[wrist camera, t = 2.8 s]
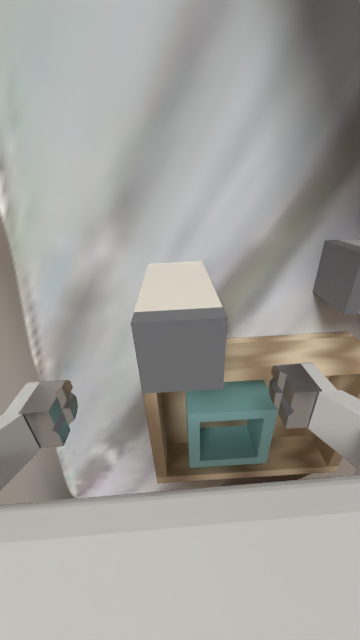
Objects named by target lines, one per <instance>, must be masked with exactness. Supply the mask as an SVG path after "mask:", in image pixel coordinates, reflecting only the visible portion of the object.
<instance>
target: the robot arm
mask: <svg viewBox="0 0 360 640" xmlns="http://www.w3.org/2000/svg"><path fill="white" fill-rule="evenodd" d="M271 374H272V376H273V378H272V379H271V380H270V381H269V395H270V398H271V401H272V403H273V405H274V406H276V407H277V408H279V412H278V415H279V417H280V419H281V420H282V422H283V424H284V426H285V428H306V427H308V429H309V430H310V431H312V432H313V433H314V434H315V435H317V436H318V437H319V438H320V439H321V440H323V441H324V442H325V443H326V444H328V445H329V446H330V447H331V448H332V449H334V450H335V451H336V452H337V453H339V454H340V455H341V456H342V457H343V458H345V459H346V460H347V461H348V462H350V463H351V464H352V465H353V466H354V467H356V468H357V469H356V471H355V473H354V475H352V476H339V477H327V478H315V479H303V480H291V481H279V482H267V483H255V484H243V485H232V486H220V487H208V488H196V489H184V490H172V491H160V492H148V493H136V494H124V495H112V496H100V497H88V498H76V499H65V500H52V501H40V502H29V503H17V504H5V505H0V640H360V399H358V398H356V397H354V396H352V395H350V394H348V393H346V392H344V391H342V390H337V389H336V388H335V387H334V386H333V385H332V383H331V382H330V381H329V380H328V379H327V378H326V377H325V375H324V374H323V373H322V372H321V371H320V370H319V369H318V368H317V366H316V365H315V364H314V363H312V362H304V363H296V364H283V365H273V367H272V370H271ZM72 388H73V387H72V385H71V382H70V381H68V380H57V381H42V382H29V383H27V384H26V385H25V386H24V388H23V389H22V390H21V391H20V393H19V394H18V395H17V397H16V398H15V399H14V401H13V402H12V403H11V405H10V406H9V408H8V409H7V410H6V412H5V413H4V415H3V416H0V490H1V489H2V488H3V487H4V486H5V485H6V484H7V483H8V482H9V481H10V480H11V479H12V478H13V477H14V476H15V475H16V474H17V473H18V472H19V471H20V470H21V469H22V468H23V467H24V466H25V465H26V464H27V463H28V462H29V461H30V460H31V459H32V458H33V457H34V456H35V455H36V454H37V453H38V451H40V448H49V447H58V446H64V444H65V441H66V439H67V437H68V434H69V432H70V428H69V426H68V425H69V424H70V423H71V422H72V421H74V419H75V417H76V414H77V407H78V405H77V399H76V396H75V395H74V394H72V393H71V390H72Z"/></svg>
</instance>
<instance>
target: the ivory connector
mask: <svg viewBox="0 0 360 640" xmlns="http://www.w3.org/2000/svg"><path fill="white" fill-rule="evenodd" d="M131 326H132V333H133V339H134V345H135V351H136V357H137V363H138V369H139V375H140V381H141V387H142V393H143V394H145V393H161V392H178V391H195V390H211V389H223V385H224V367H225V349H226V331H227V316H226V314H225V311H224V309H223V307H222V305H221V302H220V300H219V298H218V296H217V294H216V291H215V289H214V287H213V285H212V282H211V280H210V278H209V276H208V273H207V271H206V269H205V267H204V265H203V262H202V261H196V262H177V263H159V264H148V267H147V270H146V274H145V277H144V281H143V284H142V287H141V291H140V294H139V297H138V301H137V304H136V308H135V311H134V314H133V318H132V321H131Z"/></svg>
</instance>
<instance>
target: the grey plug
mask: <svg viewBox="0 0 360 640" xmlns="http://www.w3.org/2000/svg"><path fill="white" fill-rule="evenodd" d="M313 292H314V293H315V294H316V295H318V296H319V297H321V298H322V299H323V300H325V301H326V302H328V303H329V304H330V305H332V306H333V307H335V308H336V309H337V310H339V311H340V312H342V313H343V314H359V313H360V239H349V240H330V241H325V242H324V246H323V251H322V255H321V259H320V263H319V268H318V272H317V276H316V280H315V285H314V289H313Z"/></svg>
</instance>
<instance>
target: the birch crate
mask: <svg viewBox="0 0 360 640" xmlns="http://www.w3.org/2000/svg"><path fill="white" fill-rule="evenodd" d="M304 362H312V363H314V364H315V365H316V366H317V368H318V369H319V370H320V371H321V372H322V373H323V374H324V375H325V377H326V378H327V379H328V380H329V381H330V382H331V383H332V385H333V386H334V387H335V388H336V389H337V390H342V391H344V392H346V393H348V394H350V395H352V396H354V397H356V398H358V399H360V341H359V340H358V339H357V338H355V337H354V336H353V335H351V334H350V333H349V332H332V333H315V334H298V335H280V336H263V337H246V338H228V339H226V349H225V367H224V382H233V381H249V380H264V382H265V384H266V386H267V388H268V390H269V381H270V380H271V379H272V378H273V376H272V374H271V370H272V367H273V365H283V364H296V363H304ZM143 397H144V403H145V409H146V415H147V421H148V427H149V433H150V440H151V446H152V452H153V458H154V464H155V470H156V476H157V483H169V482H184V481H200V480H216V479H231V478H247V477H263V476H279V475H294V474H310V473H325V472H336V470H337V467H338V465H339V463H340V461H341V459H342V456H341V455H340V454H339V453H337V452H336V451H335V450H334V449H332V448H331V447H330V446H329V445H328V444H326V443H325V442H324V441H323V440H321V439H320V438H319V437H318V436H317V435H315V434H314V433H313V432H312V431H310V430H309V429H308V427H306V428H285V426H284V424H283V422H282V420H281V419H280V417H279V415H278V412H279V408H278V412H277V417H276V421H275V426H274V431H273V435H272V440H271V445H270V449H269V454H268V459H267V463H258V464H242V465H226V466H210V467H194V468H190V463H189V449H188V435H187V413H186V392H185V391H178V392H161V393H145V394H143ZM247 421H248V419H245V420H229V421H212V422H200V428H211V427H227V426H243V425H247Z"/></svg>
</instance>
